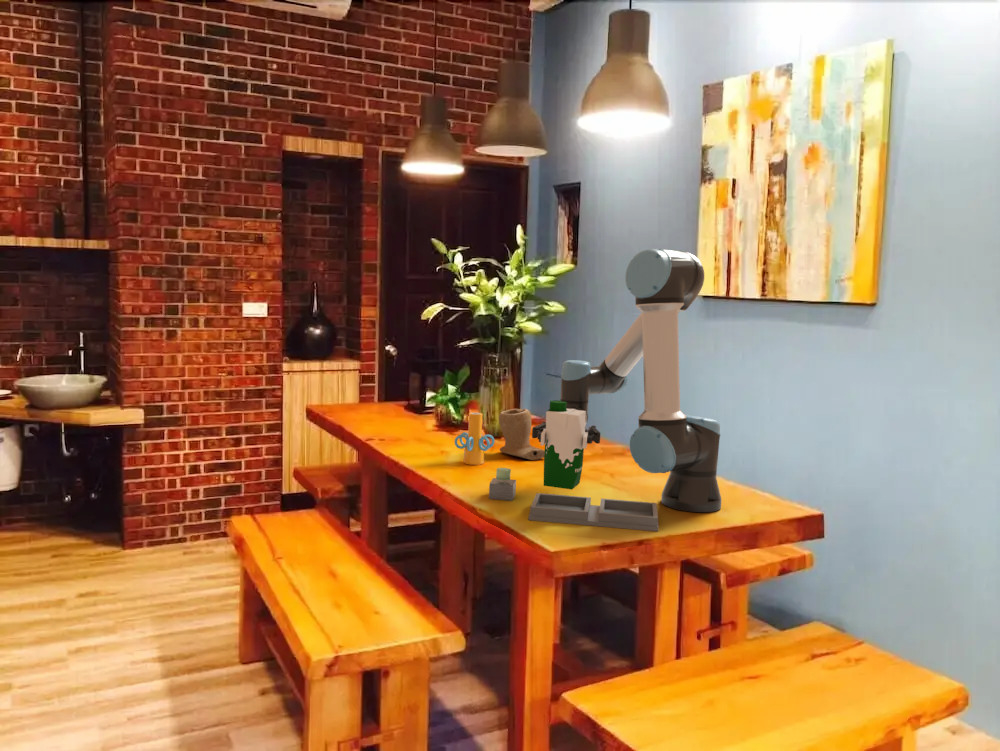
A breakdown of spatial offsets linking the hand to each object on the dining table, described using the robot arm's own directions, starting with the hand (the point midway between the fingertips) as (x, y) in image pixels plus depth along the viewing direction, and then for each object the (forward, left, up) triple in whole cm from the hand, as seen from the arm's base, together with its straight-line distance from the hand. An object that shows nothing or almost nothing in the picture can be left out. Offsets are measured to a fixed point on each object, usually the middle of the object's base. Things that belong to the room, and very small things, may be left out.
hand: (563, 441), depth 206 cm
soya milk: (0, -5, -12) cm, 13 cm away
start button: (+16, -16, -14) cm, 26 cm away
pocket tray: (-8, -4, -19) cm, 21 cm away
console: (+16, -16, -19) cm, 29 cm away
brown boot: (+18, -66, -19) cm, 71 cm away
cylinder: (+30, -52, -19) cm, 63 cm away
